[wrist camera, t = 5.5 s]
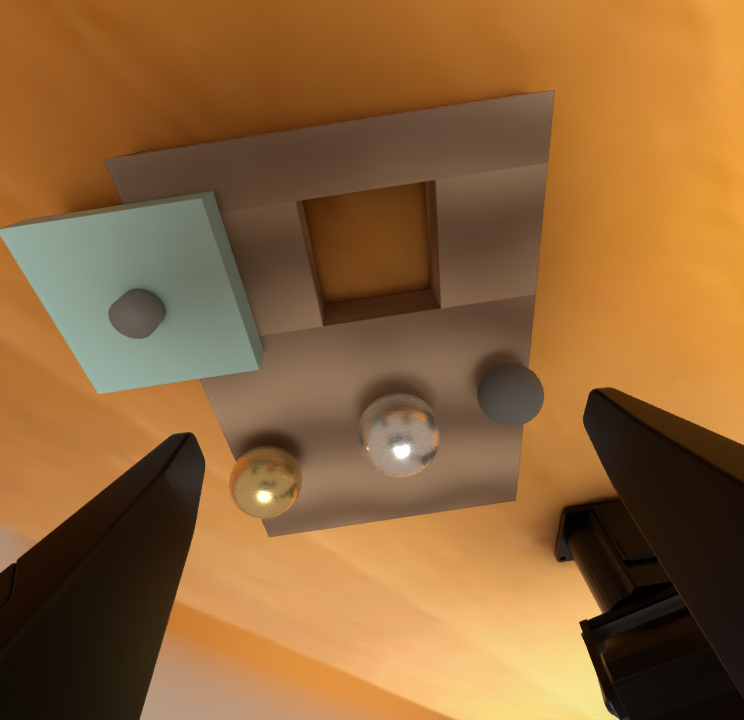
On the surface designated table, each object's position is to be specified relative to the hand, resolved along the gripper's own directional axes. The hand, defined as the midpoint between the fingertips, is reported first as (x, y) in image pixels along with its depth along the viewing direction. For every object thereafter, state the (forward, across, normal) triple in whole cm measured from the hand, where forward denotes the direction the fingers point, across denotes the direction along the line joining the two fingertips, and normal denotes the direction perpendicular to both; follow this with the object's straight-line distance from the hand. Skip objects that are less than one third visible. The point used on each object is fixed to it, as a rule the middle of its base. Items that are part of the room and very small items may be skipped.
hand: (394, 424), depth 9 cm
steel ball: (+7, -1, +7) cm, 10 cm away
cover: (+9, +9, 0) cm, 13 cm away
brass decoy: (+8, +6, +10) cm, 14 cm away
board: (+12, 0, +5) cm, 13 cm away
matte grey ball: (+8, -6, +6) cm, 12 cm away
